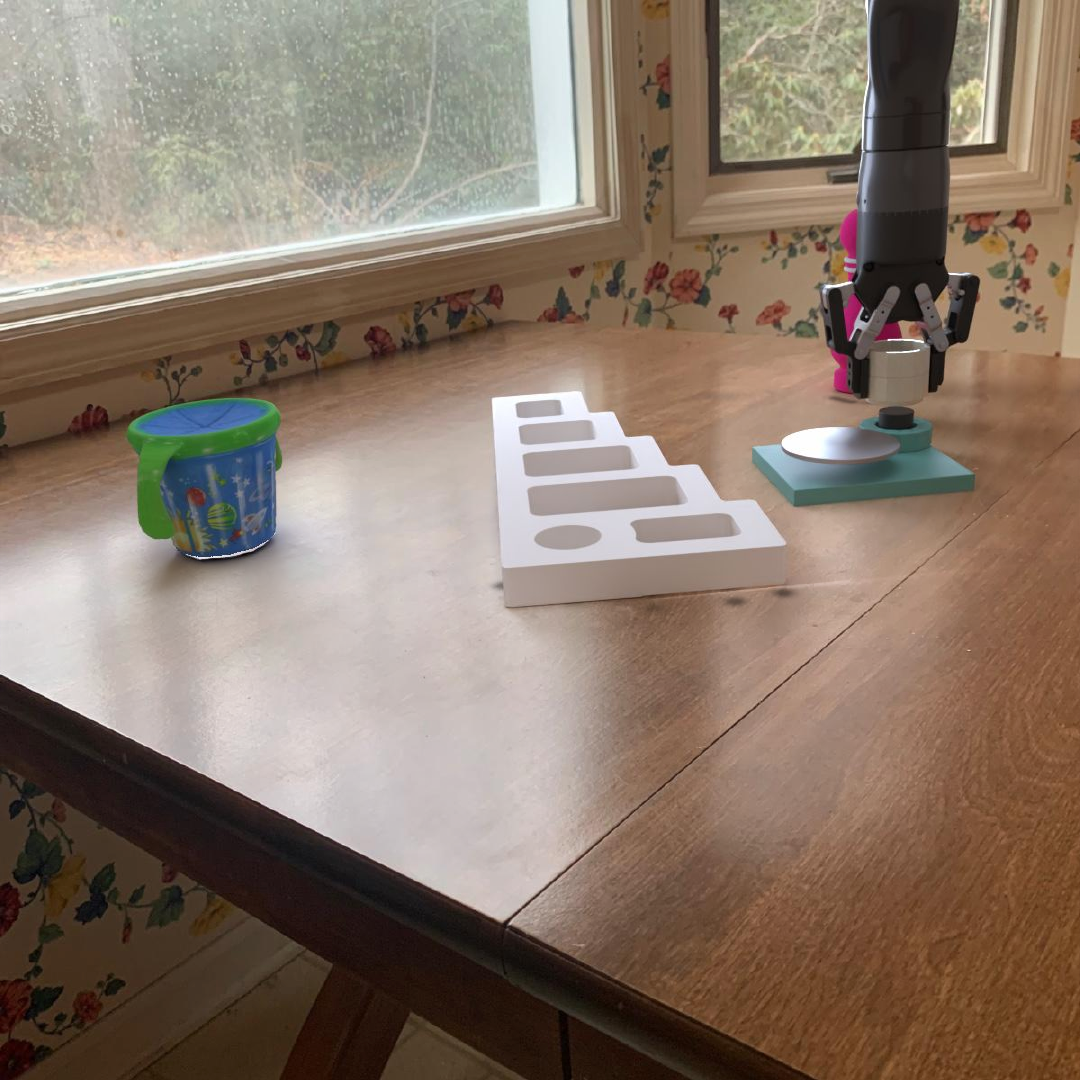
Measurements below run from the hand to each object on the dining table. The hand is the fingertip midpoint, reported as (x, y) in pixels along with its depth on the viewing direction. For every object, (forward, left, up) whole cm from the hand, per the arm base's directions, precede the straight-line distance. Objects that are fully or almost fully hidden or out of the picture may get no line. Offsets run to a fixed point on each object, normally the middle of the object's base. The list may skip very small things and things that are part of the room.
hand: (894, 393), depth 100 cm
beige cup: (0, 0, -1) cm, 1 cm away
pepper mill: (-3, -15, -3) cm, 15 cm away
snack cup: (+58, +16, -3) cm, 61 cm away
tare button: (+4, +10, 0) cm, 11 cm away
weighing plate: (+10, +15, 0) cm, 18 cm away
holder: (+28, +10, -3) cm, 30 cm away
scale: (+8, +13, -3) cm, 16 cm away
